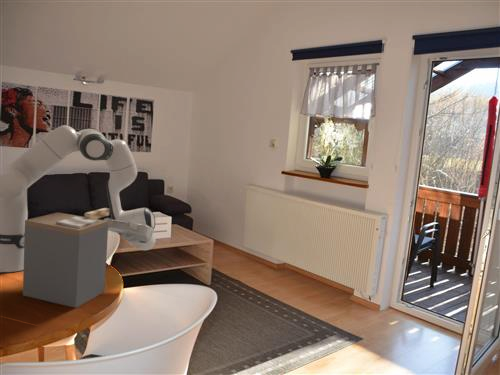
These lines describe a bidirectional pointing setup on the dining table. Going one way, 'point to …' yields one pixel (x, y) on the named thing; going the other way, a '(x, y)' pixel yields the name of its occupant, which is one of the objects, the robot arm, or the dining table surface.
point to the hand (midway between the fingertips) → (118, 221)
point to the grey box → (64, 260)
